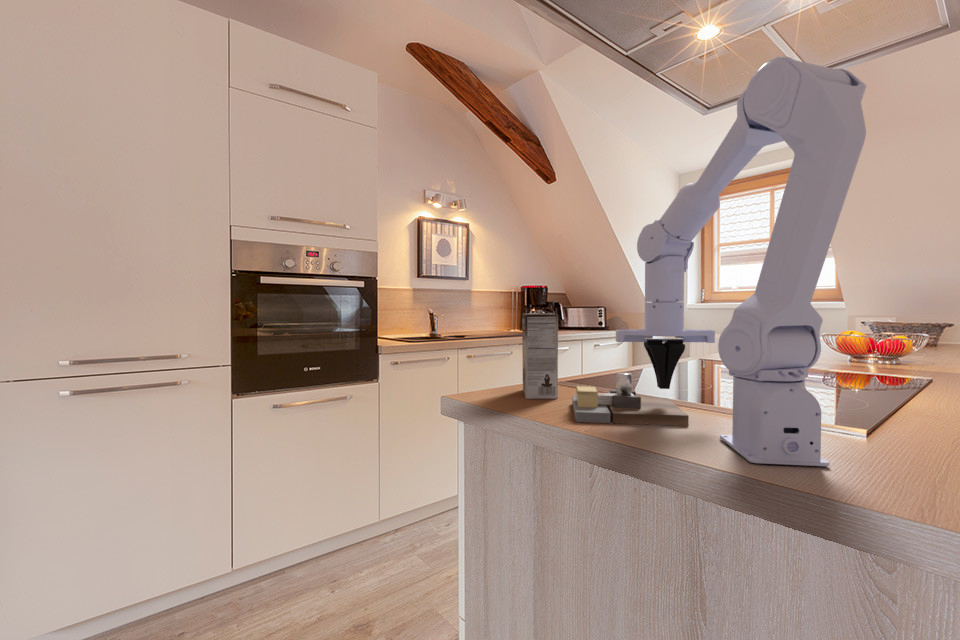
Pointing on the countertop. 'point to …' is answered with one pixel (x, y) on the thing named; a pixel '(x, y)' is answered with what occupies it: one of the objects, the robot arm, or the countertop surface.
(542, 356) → the coffee box
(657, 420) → the door panel
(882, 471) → the countertop surface
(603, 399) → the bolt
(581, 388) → the jamb keeper
